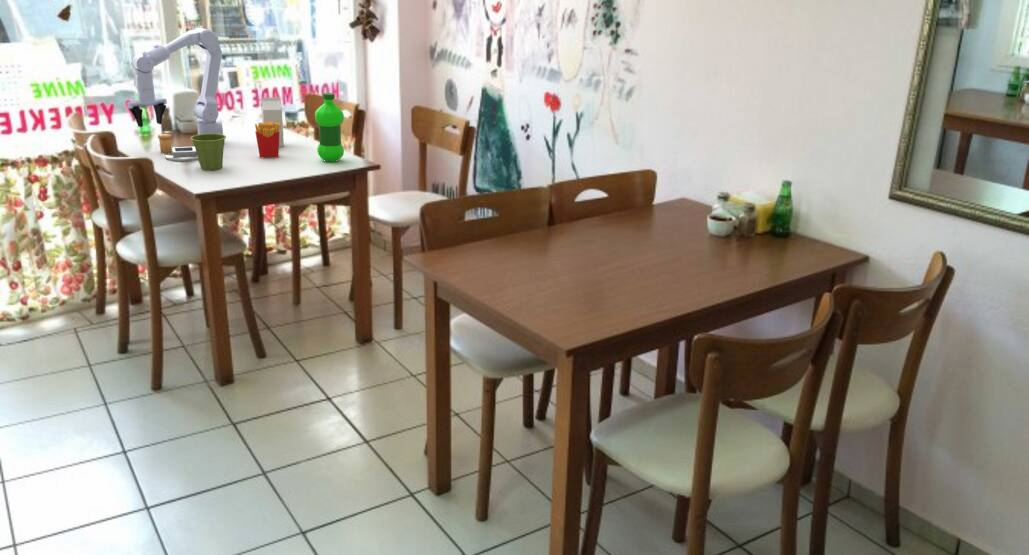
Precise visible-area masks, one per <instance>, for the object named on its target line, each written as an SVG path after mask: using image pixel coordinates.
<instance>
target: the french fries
mask: <svg viewBox="0 0 1029 555" xmlns="http://www.w3.org/2000/svg"><path fill="white" fill-rule="evenodd" d="M254 126H255V127H254V128H255V131H254V132H255V136H256V143H257V149H258V154H259V158H260V157H276V158H279V156H280V155H279V153H280V152H279V150H280V147H279V133H280V132H279V130H280V126H281V125H280V123H276V122H273V124H272V122H267V123H262V122H258V123H254Z"/></svg>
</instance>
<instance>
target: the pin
mask: <svg viewBox="0 0 1029 555" xmlns="http://www.w3.org/2000/svg"><path fill="white" fill-rule="evenodd" d="M171 138H172V134H169V133H162V134H157V139H158V142H159V149H160V150H159V151H160V154H162V153H164V154H163V155H166V154H168V153H170V152H172V139H171Z"/></svg>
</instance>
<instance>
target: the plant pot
mask: <svg viewBox="0 0 1029 555" xmlns="http://www.w3.org/2000/svg"><path fill="white" fill-rule="evenodd" d="M226 138H227V136H226V135H225V134H223V135H222V134H199V135H198V134H195V135H192V136H190V140H192V144H193V147H194V146H195V149H196V152H197V156H198V159H199V160H198V162H199V165H200V169H201V170H203V171H206V170H207V171H208V170H210V171H216V170H220V169H221V168H223V165H224V164H223V163H224V147H225V141H226Z"/></svg>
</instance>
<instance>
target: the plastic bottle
mask: <svg viewBox="0 0 1029 555" xmlns="http://www.w3.org/2000/svg"><path fill="white" fill-rule="evenodd" d="M335 98H336V96H335V93H334V92H323V93H322V99H323V100H324V103H323V104H321V105H320V106H319V107H318V108H317V109H316V110H315V112H314V118H315V122H316V123H317V124H318V134H319V135H318V136H319V143H318V146H317V148H316V149H317V155H318V156H319V157H320V159H322V160H323V161H324V160H325V161H336V160H338V161H340V159H342V157H343V156H344V155H345V154H344V153H345V150H344V147H343V145H342V132H341V131H342V129H341V125H342V124H343V123H344V120H345V116H344V112H343V110H342V109H340V108H339V106H337V105H336V104H335V103H334V100H336V99H335ZM325 161H324V162H325Z"/></svg>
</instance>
